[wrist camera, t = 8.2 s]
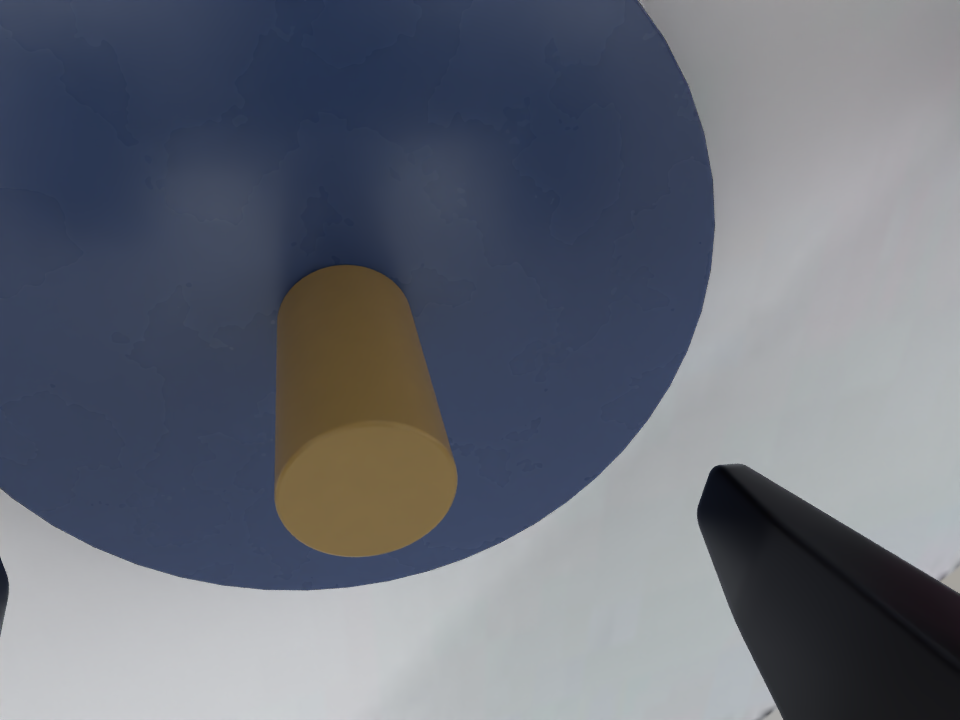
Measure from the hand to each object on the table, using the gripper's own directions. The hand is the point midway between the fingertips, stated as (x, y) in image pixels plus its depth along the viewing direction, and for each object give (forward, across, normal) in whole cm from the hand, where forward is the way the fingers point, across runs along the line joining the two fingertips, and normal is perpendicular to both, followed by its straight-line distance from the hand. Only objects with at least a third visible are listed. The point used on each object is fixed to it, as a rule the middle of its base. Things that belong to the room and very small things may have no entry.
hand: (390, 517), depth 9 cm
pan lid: (+5, 0, 0) cm, 5 cm away
